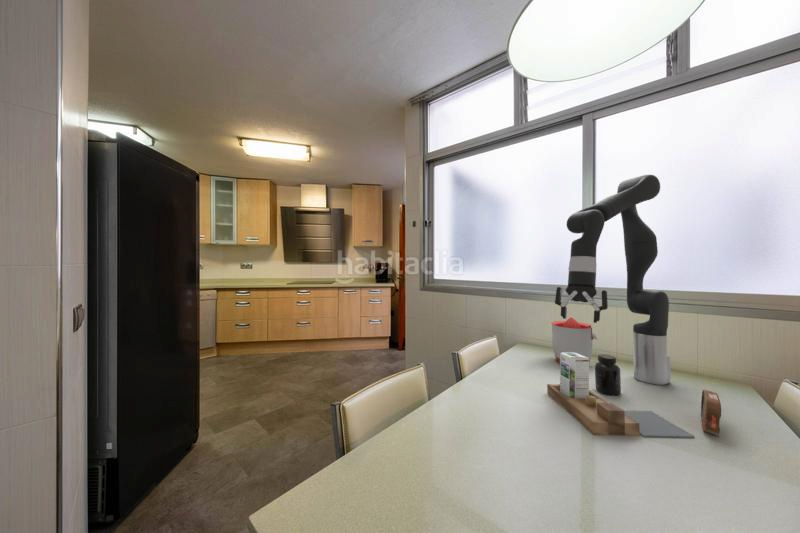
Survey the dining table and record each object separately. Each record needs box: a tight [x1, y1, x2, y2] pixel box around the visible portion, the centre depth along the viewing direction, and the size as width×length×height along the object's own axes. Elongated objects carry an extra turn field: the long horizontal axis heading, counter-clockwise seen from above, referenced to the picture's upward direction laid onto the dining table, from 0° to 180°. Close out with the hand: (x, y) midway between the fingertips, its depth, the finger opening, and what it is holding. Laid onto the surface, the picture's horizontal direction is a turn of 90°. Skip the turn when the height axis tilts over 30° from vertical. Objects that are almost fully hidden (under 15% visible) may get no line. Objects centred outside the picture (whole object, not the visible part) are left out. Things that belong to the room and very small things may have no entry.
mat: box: [624, 410, 696, 439], centre depth 73 cm, size 12×12×1 cm
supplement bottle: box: [594, 353, 622, 397], centre depth 92 cm, size 7×7×12 cm
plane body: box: [546, 383, 641, 436], centre depth 79 cm, size 11×23×6 cm, turn 178°
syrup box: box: [559, 352, 590, 399], centre depth 85 cm, size 6×6×14 cm
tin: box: [700, 389, 722, 436], centre depth 71 cm, size 15×3×8 cm, turn 134°
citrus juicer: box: [551, 317, 599, 363], centre depth 121 cm, size 16×17×20 cm
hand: (579, 320), depth 90 cm, fingers open, 8 cm apart
